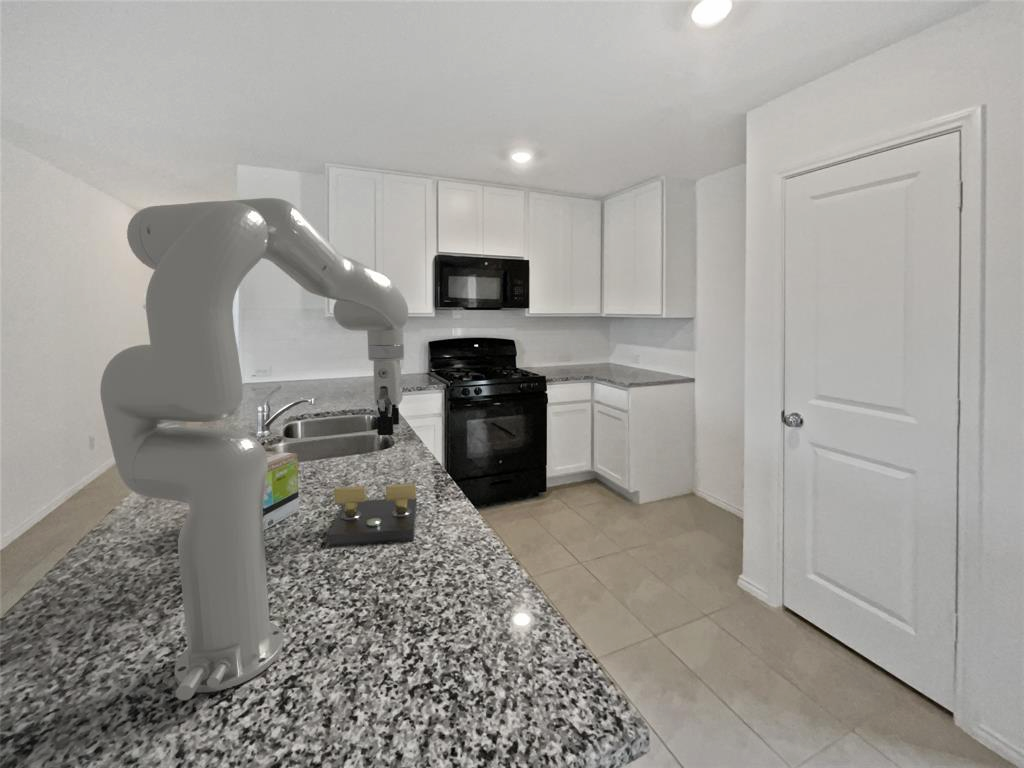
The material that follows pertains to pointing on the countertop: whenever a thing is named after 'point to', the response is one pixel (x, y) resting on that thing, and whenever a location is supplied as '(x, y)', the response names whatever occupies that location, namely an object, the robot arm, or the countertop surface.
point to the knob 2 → (401, 495)
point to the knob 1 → (350, 498)
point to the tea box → (280, 488)
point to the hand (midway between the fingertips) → (389, 429)
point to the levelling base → (374, 524)
